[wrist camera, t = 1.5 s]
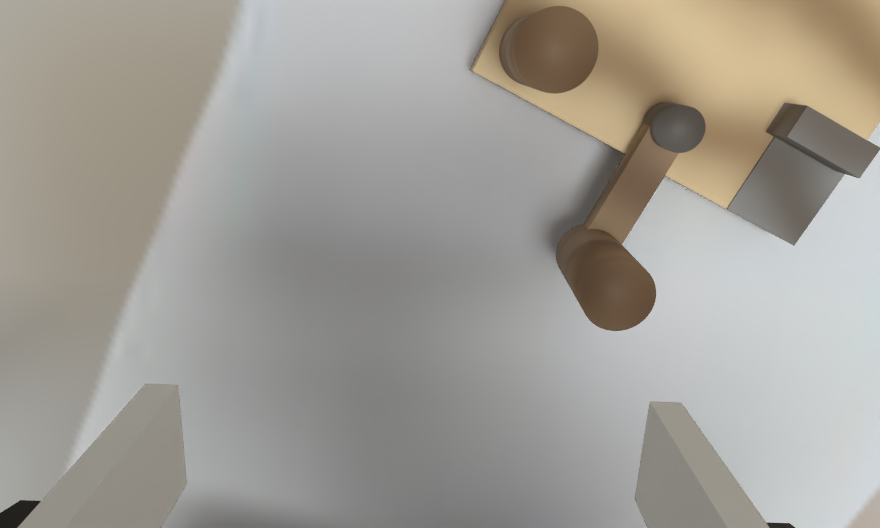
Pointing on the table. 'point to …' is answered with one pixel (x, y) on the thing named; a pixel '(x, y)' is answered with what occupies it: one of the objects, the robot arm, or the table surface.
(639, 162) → the hinged leg
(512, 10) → the stool seat
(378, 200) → the table surface
